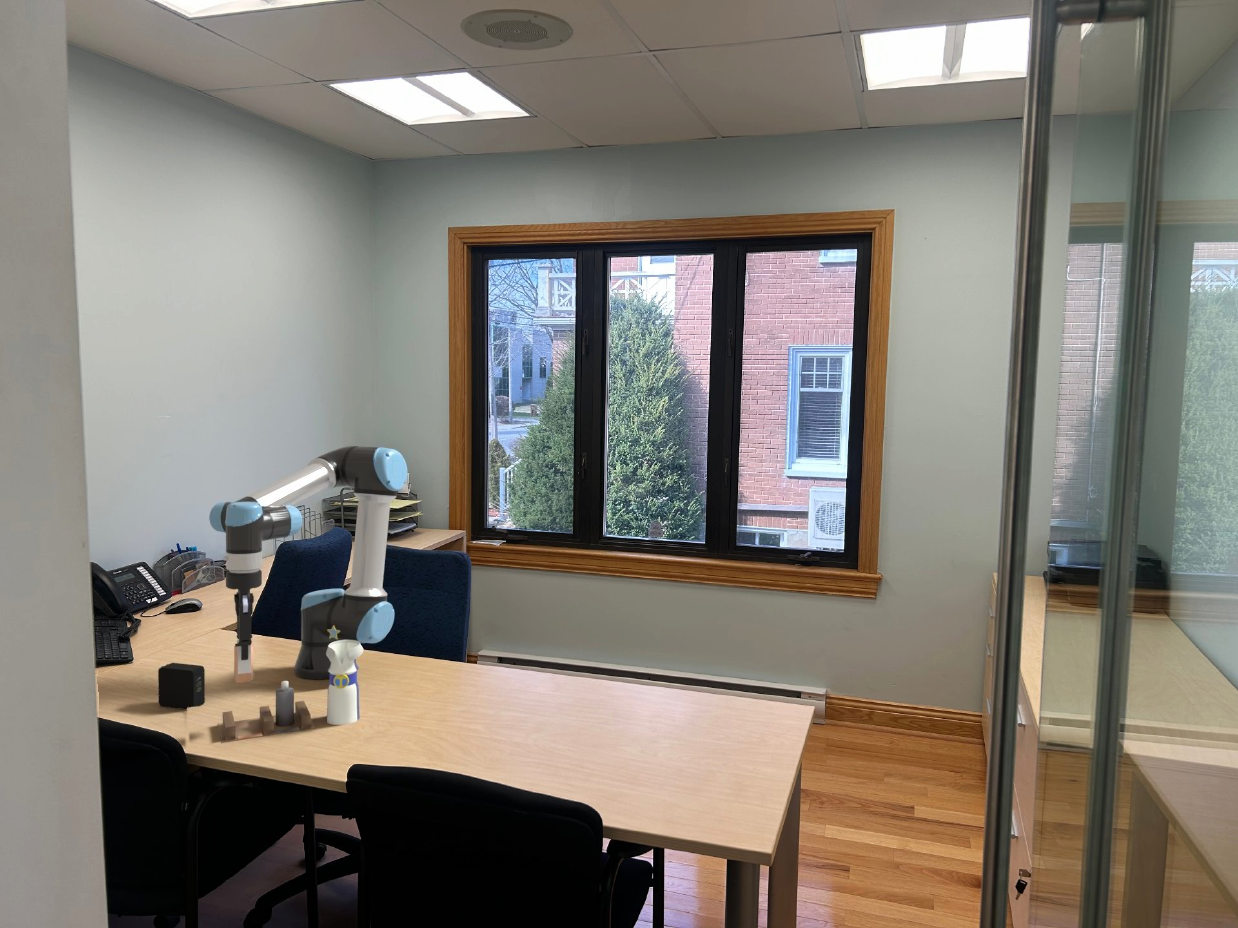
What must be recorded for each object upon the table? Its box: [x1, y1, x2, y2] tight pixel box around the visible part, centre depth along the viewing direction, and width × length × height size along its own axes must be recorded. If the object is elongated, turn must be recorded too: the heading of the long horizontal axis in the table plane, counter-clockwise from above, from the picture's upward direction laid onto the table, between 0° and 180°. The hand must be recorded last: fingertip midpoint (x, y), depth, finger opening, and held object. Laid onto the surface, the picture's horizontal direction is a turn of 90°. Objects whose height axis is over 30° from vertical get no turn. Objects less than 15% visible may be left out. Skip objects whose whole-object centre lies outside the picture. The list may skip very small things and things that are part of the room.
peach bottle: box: [233, 643, 254, 684], centre depth 192 cm, size 4×4×10 cm
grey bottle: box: [275, 680, 295, 727], centre depth 196 cm, size 4×4×10 cm
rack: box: [217, 700, 316, 744], centre depth 195 cm, size 20×12×4 cm, turn 119°
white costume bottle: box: [326, 625, 364, 726], centre depth 199 cm, size 8×9×25 cm
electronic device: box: [157, 662, 206, 710], centre depth 208 cm, size 4×10×10 cm, turn 79°
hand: (243, 669), depth 192 cm, fingers closed on peach bottle, 4 cm apart
